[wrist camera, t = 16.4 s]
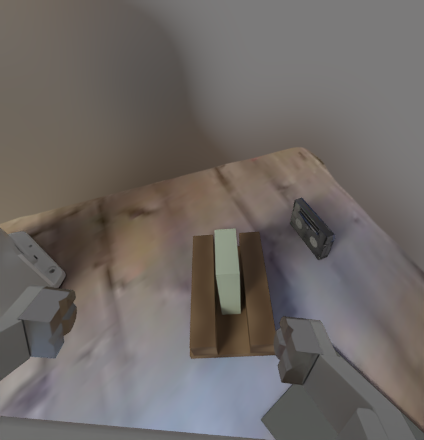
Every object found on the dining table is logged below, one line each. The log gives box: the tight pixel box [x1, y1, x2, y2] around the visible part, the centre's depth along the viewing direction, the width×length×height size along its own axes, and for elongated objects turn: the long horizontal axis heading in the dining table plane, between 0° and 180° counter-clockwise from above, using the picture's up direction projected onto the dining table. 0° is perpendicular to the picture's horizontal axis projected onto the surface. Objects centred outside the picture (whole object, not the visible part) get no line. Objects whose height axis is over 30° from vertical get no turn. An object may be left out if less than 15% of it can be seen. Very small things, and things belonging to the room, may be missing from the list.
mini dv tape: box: [290, 198, 335, 260], centre depth 43 cm, size 8×2×6 cm, turn 22°
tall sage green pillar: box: [215, 229, 241, 315], centre depth 35 cm, size 2×6×11 cm, turn 1°
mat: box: [261, 351, 424, 440], centre depth 29 cm, size 12×12×1 cm
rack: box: [190, 232, 276, 359], centre depth 38 cm, size 11×16×5 cm
